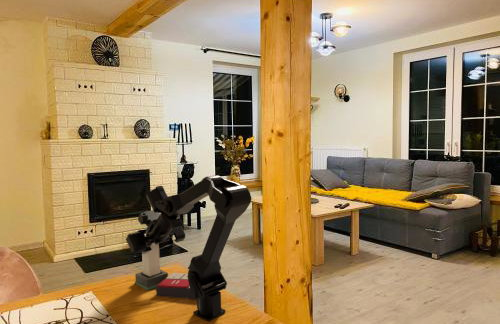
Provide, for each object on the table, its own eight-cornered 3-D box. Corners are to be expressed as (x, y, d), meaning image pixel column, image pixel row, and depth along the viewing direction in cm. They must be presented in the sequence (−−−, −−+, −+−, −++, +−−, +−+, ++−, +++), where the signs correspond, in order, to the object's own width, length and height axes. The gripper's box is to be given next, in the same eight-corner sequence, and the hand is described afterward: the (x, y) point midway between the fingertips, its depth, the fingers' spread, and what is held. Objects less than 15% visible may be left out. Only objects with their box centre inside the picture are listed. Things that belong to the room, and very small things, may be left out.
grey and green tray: (169, 282, 123) (168, 272, 123) (147, 290, 117) (146, 280, 117) (156, 276, 128) (155, 266, 128) (135, 283, 123) (134, 273, 123)
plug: (160, 272, 122) (158, 230, 121) (149, 276, 120) (147, 233, 118) (153, 269, 125) (151, 228, 124) (143, 273, 122) (140, 231, 121)
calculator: (171, 271, 124) (213, 272, 120) (172, 284, 124) (214, 285, 120) (155, 285, 113) (200, 287, 109) (156, 298, 114) (201, 301, 110)
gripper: (179, 199, 124) (162, 226, 133) (126, 208, 111) (112, 237, 120) (194, 226, 119) (176, 252, 128) (141, 239, 106) (125, 267, 115)
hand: (148, 251), depth 123 cm, fingers closed on plug, 4 cm apart
